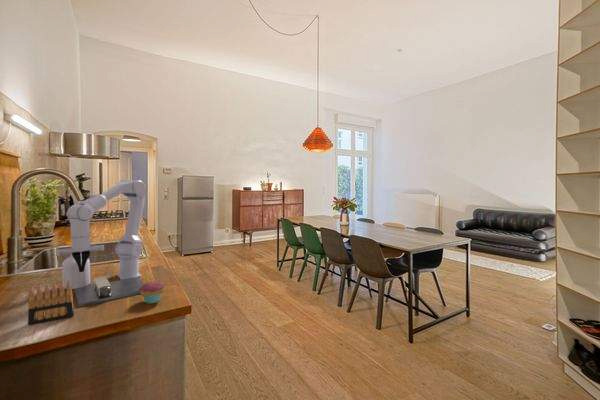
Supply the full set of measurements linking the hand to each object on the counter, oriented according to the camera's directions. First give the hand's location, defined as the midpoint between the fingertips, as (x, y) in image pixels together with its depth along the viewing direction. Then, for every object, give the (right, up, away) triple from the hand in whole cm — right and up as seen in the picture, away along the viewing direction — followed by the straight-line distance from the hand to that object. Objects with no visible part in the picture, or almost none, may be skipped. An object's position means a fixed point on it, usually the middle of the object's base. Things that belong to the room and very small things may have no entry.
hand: (81, 271), depth 109 cm
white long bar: (+8, -7, +1) cm, 11 cm away
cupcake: (+30, -10, -4) cm, 32 cm away
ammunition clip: (+6, -11, -20) cm, 23 cm away
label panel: (+10, -9, +3) cm, 13 cm away
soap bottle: (-9, -8, +9) cm, 15 cm away
